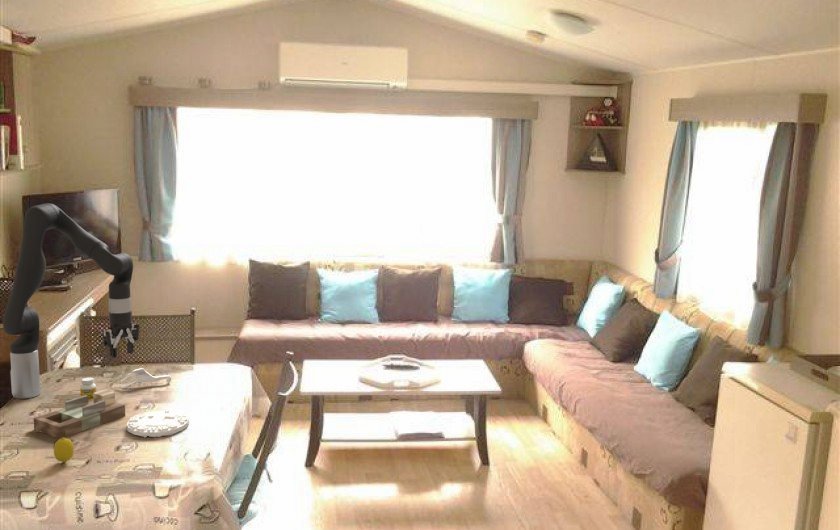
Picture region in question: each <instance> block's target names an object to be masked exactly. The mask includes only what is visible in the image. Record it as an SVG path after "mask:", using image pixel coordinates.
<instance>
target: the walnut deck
mask: <svg viewBox="0 0 840 530" xmlns="http://www.w3.org/2000/svg"><path fill="white" fill-rule="evenodd" d="M64 404H65V407H64V408H60V409H57V410H54V411H51V412H47V413H44V414H42V415H39V416H35V417H33V430H34V429H35V430H34V431H37V430H38V431H37V432H40V431H41V432H40V433H42V432H43V434H45V433H46V435H48V436H51V437H53V438H56V439H58V440H59V439H61V438H63V437H64V438H66V437H70V436H72V435H75V434H79V433H80V432H81V433H82V432H84V431H87V430H89V428H90V429H92V428H95V427H97V426H100V425H103V424H106V423H109V422H112V421H114V420H117V419H120V418H123V417H126V406H125V404H124V403H123V404H122V403H120V402H118V401H117V402H116V401H115V403H113V404H110V405H107V406H105V401H103V400H102V401H99V402H96V403H94V399H92V400H88V396H87V395H85V396H81V395H80V396H78V397H75V398H72V399H68V400H65V402H64ZM86 429H87V430H86ZM83 430H84V431H83Z"/></svg>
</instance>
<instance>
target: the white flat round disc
mask: <svg viewBox="0 0 840 530" xmlns="http://www.w3.org/2000/svg"><path fill="white" fill-rule="evenodd" d="M189 419H190V418H189V417H188V415H187V414H185V413H182V412H179V411H172V410H169V409H164V410H160V411H158V410H157V411H150V412H145V413H137V414H135V415H134V416H131V417H130V418H129V420H127V423H126V430H127V432H128V433H130V434H132V435H134V436H140V437H142V438H145V439H146V438H147V436H149V437H153V438H162V437H163V436H171V435H172V436H173V435H175V434H177V433H179V432H180V431H181V432H182V431H183V430H186V428H187V427H188V425H189V424H190V423H189V422H190V420H189Z"/></svg>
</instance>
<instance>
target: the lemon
mask: <svg viewBox="0 0 840 530" xmlns="http://www.w3.org/2000/svg"><path fill="white" fill-rule="evenodd" d="M74 453H75V447H74V443H73V442H72V441H71V439H69V438H66V437H63V438H61V439H59V438H58V440H56V442H55V443H54V446H53V455H54V458H55V459H56V460H57V461H59V462H61V463H63V464H65V463H67V461H69V460H70V459H72V458H73V456H74Z"/></svg>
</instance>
